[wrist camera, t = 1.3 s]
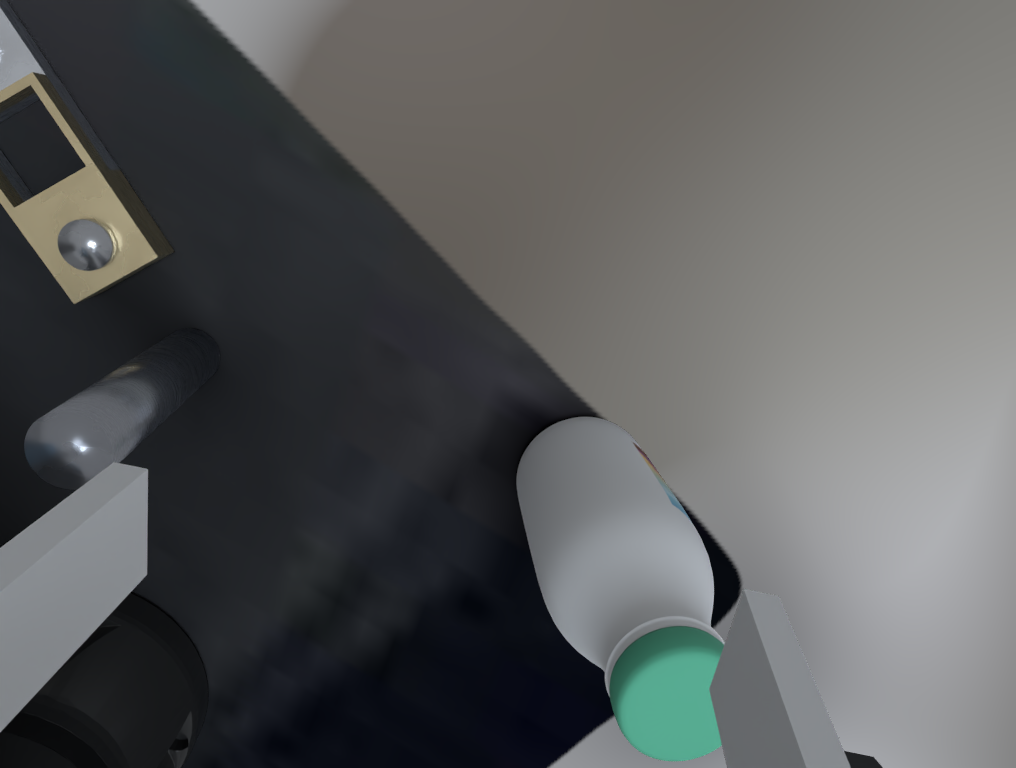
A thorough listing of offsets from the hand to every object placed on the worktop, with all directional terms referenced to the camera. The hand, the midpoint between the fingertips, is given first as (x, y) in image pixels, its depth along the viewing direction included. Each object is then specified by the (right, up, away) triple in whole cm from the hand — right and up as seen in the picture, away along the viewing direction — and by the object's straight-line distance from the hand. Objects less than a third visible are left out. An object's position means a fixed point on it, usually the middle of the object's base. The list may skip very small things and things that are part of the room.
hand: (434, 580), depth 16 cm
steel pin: (-15, +6, +24) cm, 29 cm away
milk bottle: (+6, -1, +28) cm, 29 cm away
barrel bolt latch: (-21, +16, +21) cm, 33 cm away
